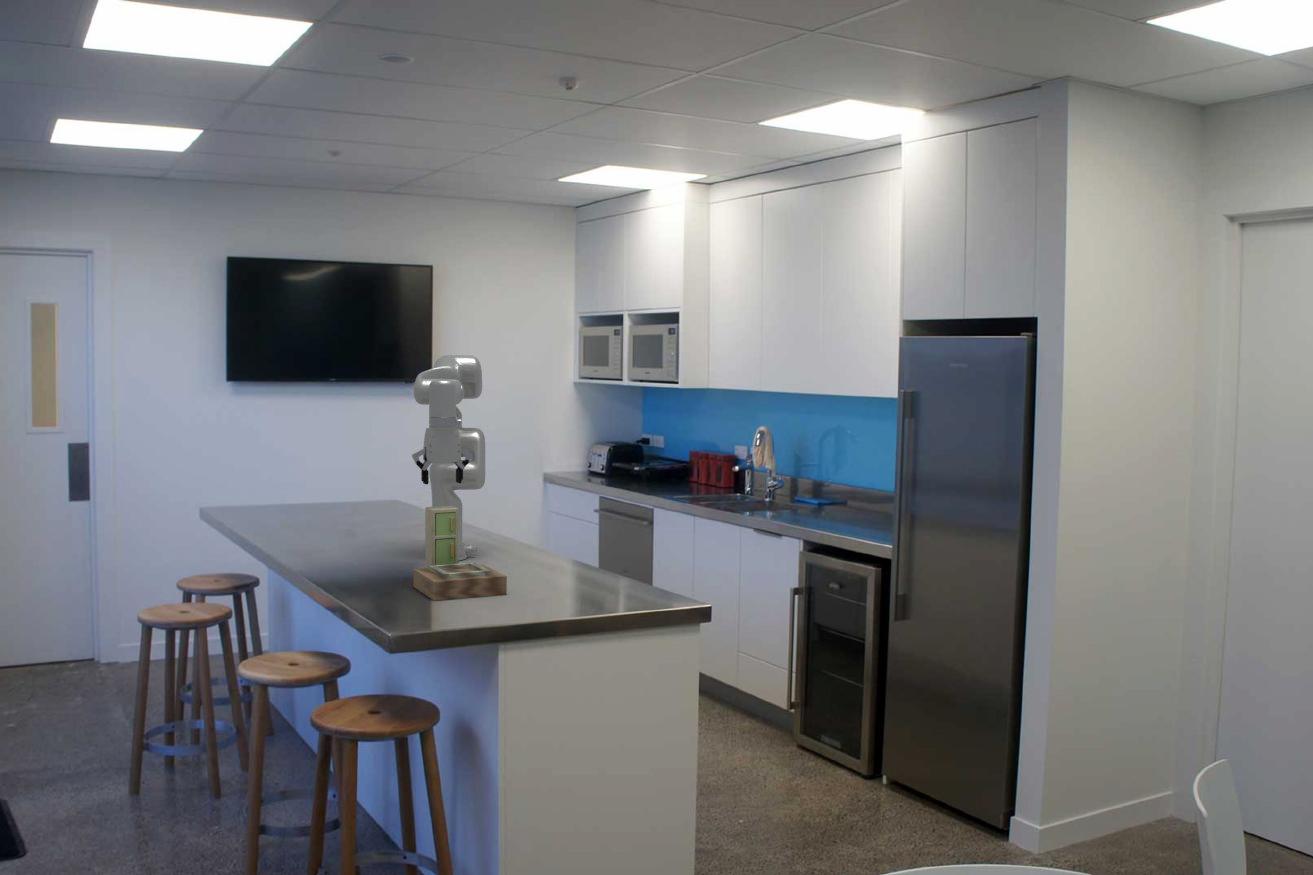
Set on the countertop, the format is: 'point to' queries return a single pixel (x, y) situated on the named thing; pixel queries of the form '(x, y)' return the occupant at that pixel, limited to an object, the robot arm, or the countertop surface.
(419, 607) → the countertop surface
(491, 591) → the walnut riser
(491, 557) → the countertop surface
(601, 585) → the countertop surface
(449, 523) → the toy refrigerator
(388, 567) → the countertop surface
